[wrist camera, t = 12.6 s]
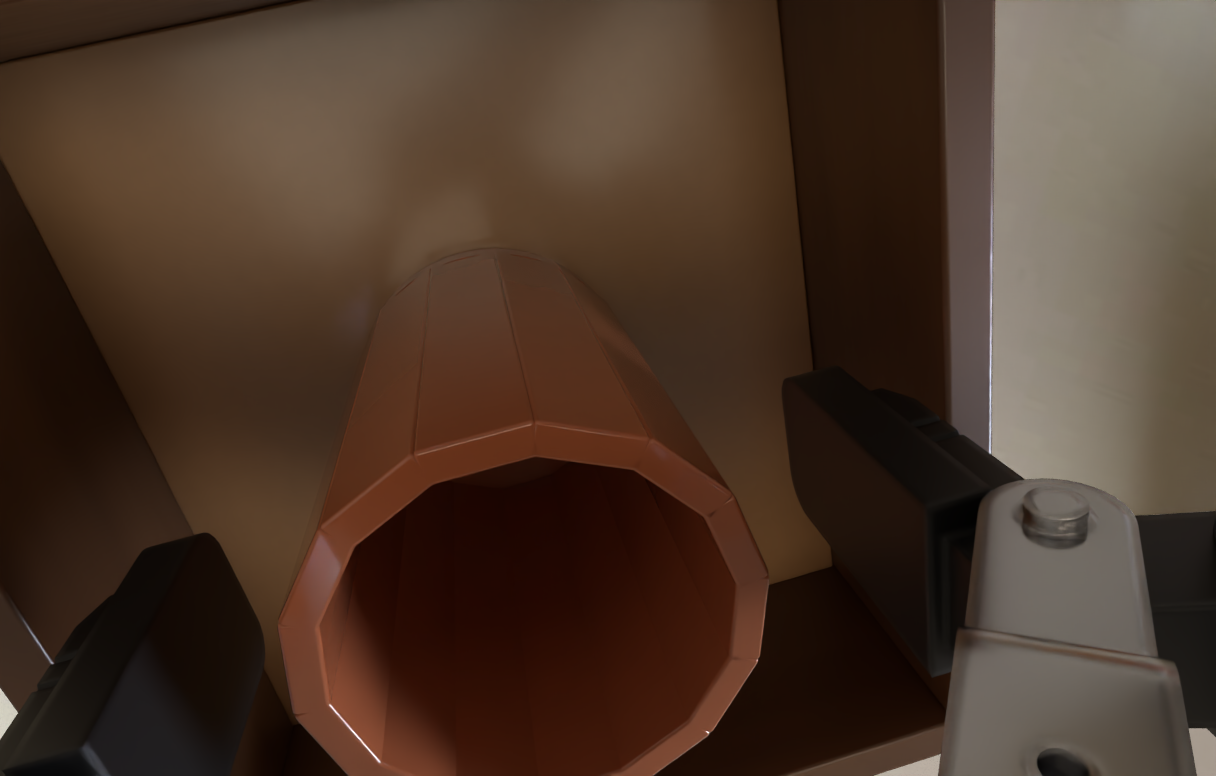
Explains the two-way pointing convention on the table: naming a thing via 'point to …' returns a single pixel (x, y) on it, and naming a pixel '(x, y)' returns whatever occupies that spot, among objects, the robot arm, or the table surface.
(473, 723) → the cup
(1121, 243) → the table surface
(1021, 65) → the table surface
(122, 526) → the box
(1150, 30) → the table surface
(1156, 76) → the table surface
